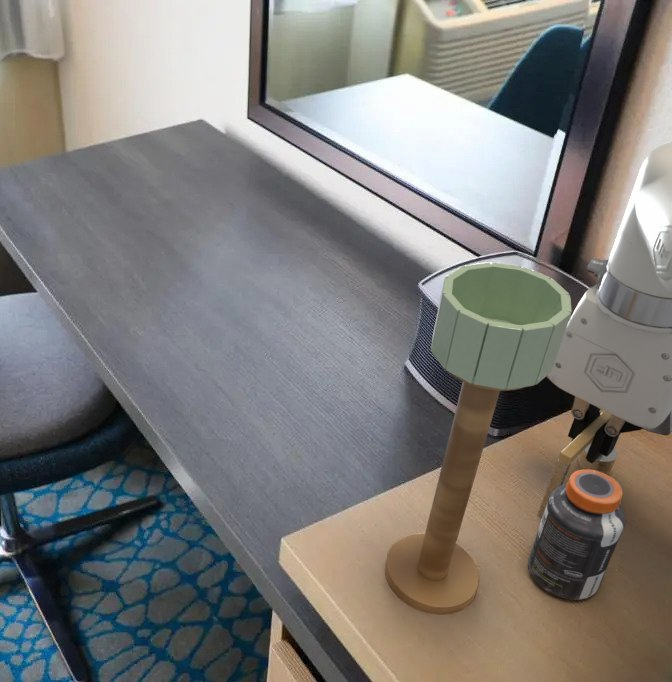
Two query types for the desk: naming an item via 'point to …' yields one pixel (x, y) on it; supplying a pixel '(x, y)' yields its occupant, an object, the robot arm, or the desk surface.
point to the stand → (446, 517)
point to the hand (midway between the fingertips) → (587, 449)
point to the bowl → (500, 325)
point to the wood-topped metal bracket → (579, 458)
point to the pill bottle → (578, 535)
